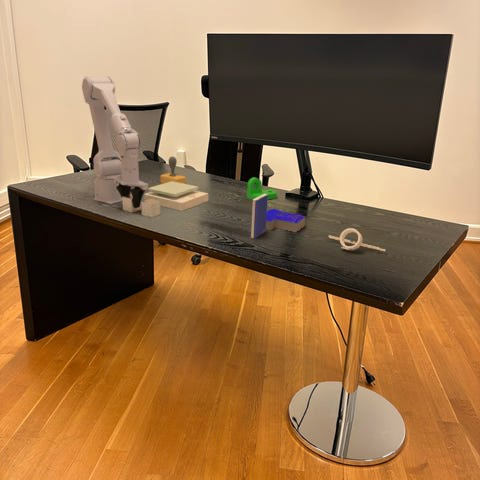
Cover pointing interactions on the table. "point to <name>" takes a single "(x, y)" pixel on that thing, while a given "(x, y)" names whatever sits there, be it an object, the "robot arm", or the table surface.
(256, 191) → the mechanical part
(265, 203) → the hard drive
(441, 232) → the table surface
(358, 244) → the beige ring with bar
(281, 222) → the blue beige flat block
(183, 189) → the pan
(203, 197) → the scale housing
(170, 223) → the table surface
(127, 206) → the tan brown block
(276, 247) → the table surface
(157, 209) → the tan brown block
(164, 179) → the rubber stamp
